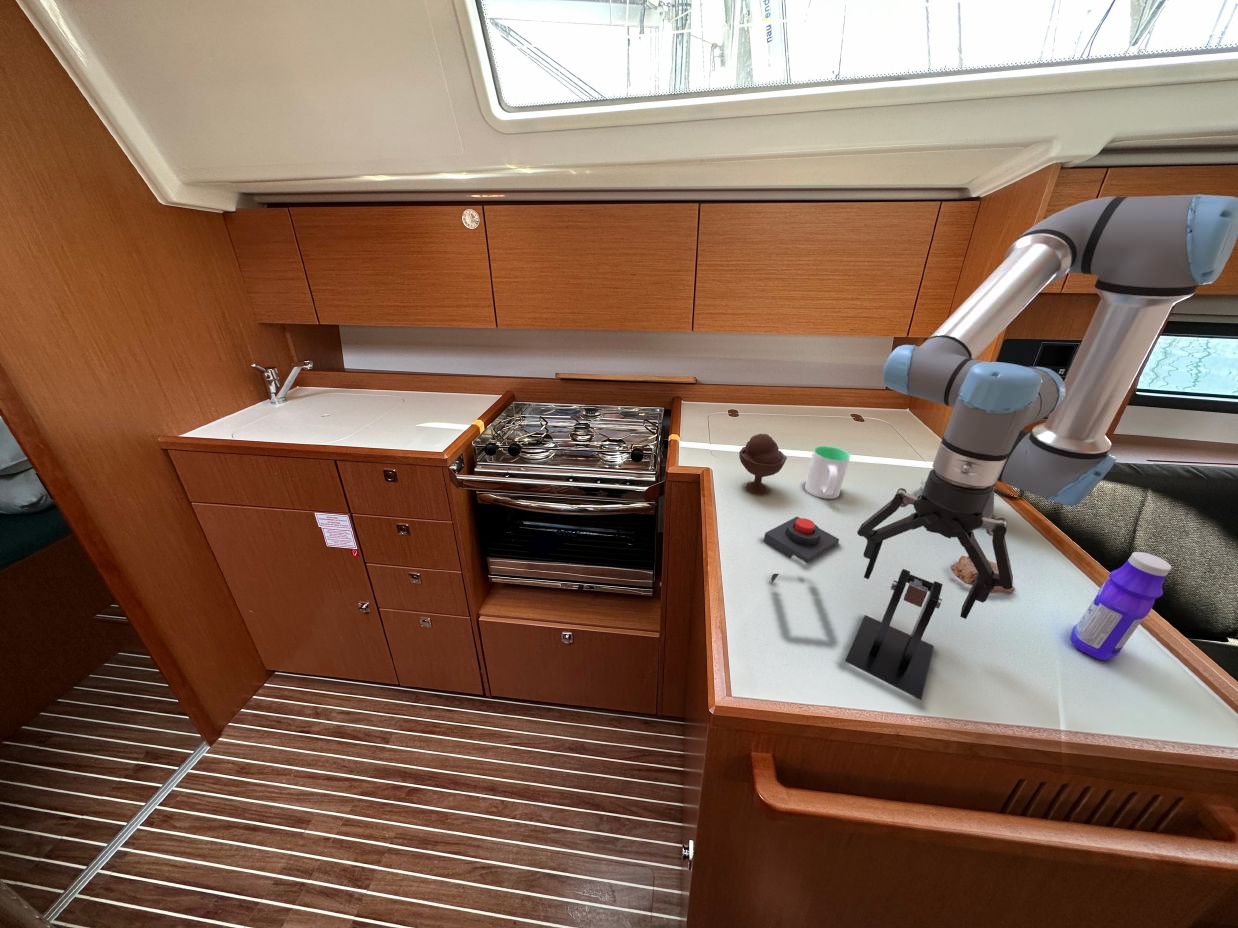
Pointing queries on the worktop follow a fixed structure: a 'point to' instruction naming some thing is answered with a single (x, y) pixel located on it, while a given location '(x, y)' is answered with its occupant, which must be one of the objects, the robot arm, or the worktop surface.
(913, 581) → the switch lever
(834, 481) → the mug
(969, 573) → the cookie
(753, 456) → the ice cream bowl
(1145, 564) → the bottle
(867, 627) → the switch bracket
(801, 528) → the stop button
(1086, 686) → the worktop surface
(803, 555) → the dark grey base plate
